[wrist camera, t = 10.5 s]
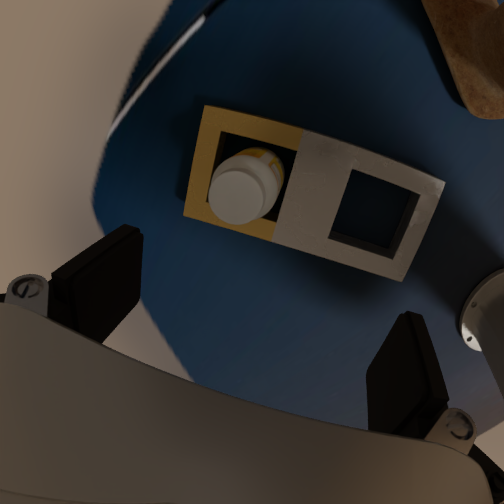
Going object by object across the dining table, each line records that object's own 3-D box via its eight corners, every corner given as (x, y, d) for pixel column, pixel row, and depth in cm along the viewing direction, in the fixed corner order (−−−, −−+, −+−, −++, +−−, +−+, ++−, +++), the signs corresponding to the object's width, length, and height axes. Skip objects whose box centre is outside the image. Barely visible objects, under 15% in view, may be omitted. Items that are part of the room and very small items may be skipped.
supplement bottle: (296, 168, 30) (289, 193, 22) (263, 209, 33) (245, 248, 24) (250, 134, 30) (225, 146, 21) (220, 177, 32) (186, 205, 23)
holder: (436, 176, 28) (445, 182, 25) (396, 270, 33) (401, 282, 30) (213, 105, 29) (204, 105, 27) (192, 207, 34) (183, 215, 32)
